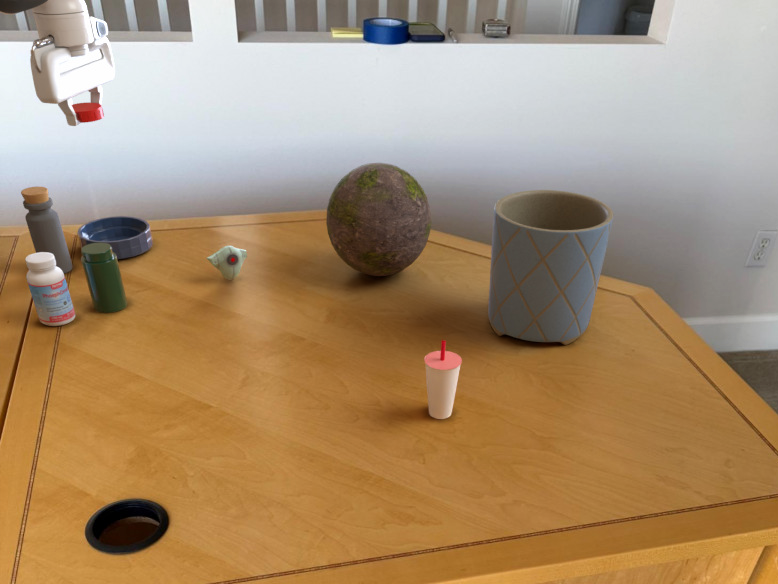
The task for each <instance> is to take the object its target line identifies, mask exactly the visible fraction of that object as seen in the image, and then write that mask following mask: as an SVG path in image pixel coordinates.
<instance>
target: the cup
mask: <svg viewBox="0 0 778 584" xmlns="http://www.w3.org/2000/svg"><path fill="white" fill-rule="evenodd" d="M446 343H447V340H444V339H441V342H440V350H436V351H431V352H429V353H427V354H426V355H425V357H424V364H425V376H426V377H425V378H426V379H425V380H426V392H427V404H428V406H427V407H428V414H429V416H430V417H432V418H434V419H437V420H444V419H448V418H449V417H451V416H452V413H453V408H454V403H455V397H456V392H457V387H458V380H459V375H460V370H461V364H462V363H463V359H462V357H461V356H460V355H459V354H457V353H456V352H452V351H450V350H449V351H448V350H446Z"/></svg>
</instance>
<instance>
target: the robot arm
mask: <svg viewBox="0 0 778 584" xmlns="http://www.w3.org/2000/svg"><path fill="white" fill-rule="evenodd" d="M28 10H31V11H32V15H33V19H34V23H35V26H36V31H37V35H38V38H36V39H34V40H33V41H32V46H31V49H30V58H29V61H30V69H31V70H30V71H31V76H32V81H33V86H34V91H35V94H36V97H37V98H38V100H39V101H40V102H41V103H42V104H50V105H57V106H58V107H59V109H60V110H61V111H62V113H63V114H64V116H65V119H66V123H67V125H68V126H69V127H76V126H78V125H80V124H82V123H81V121H80V119H79V118H80V117H79V113H75V111H74V109H73V108H72V106H71V105H73V104H74V102H73V98H74V97H77V96H79V95H81V94H84V93H86V92H88V93H90V103H98V104H101V106H102V107H103V104H102V102H103V94H104V93H103V91H104V90H103V86H102V85H105V84H106V83H109V82H112V81H114V79H115V75H116V67H115V61H114V56H113V51H112V47H111V43H110V41H109V39H108V38H107V36H108V35H109V28H108V24H107V22H106V21H104V20H103V19H100V18H97V17H94V16H91V15H89V10H88V6H87V4H86V1H85V0H0V14H3V15H16V14H20V13H22V12H26V11H28Z"/></svg>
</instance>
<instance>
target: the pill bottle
mask: <svg viewBox="0 0 778 584" xmlns="http://www.w3.org/2000/svg"><path fill="white" fill-rule="evenodd" d="M24 261H25V264H26V267H27V269H28V271H27V272H26V275H25V276H26V277H25V278H26V282H27V285H28V288H29V292H30V295H31V298H32V302H33V304H34V308H35V311H36V314H37V317H38V320H39V322H40V324H43V325H45V326H49V327H60V326H65V325H67V324H70V323H71V322H73V321H74V320H75V318H76V311H75V308H74V304H73V302H72V298H71V294H70V292H69V287H68V283H67V280H66V277H65V273H63V271H62V270H61V269H60V268H59V267H57V266H56V260H55V257H54V255H53V254H52V253H49V252H38V253H36V252H34V253H31V254H28V255H27V256H26V257H25V260H24Z"/></svg>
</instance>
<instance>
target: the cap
mask: <svg viewBox="0 0 778 584" xmlns="http://www.w3.org/2000/svg"><path fill="white" fill-rule="evenodd" d="M101 105H102V103H101V104H98V103H91V102H77V103H73V104H72V105H71V106H72V108H73V109H74V111H75V113H79V117H80V118H79V119H80V121H81V123H80V124H83V123H84V124H85V123H93V122H97V121H100V120H102V119H104V117H105V116H104V115H105V114H104V109H103V105H102V106H101Z"/></svg>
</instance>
